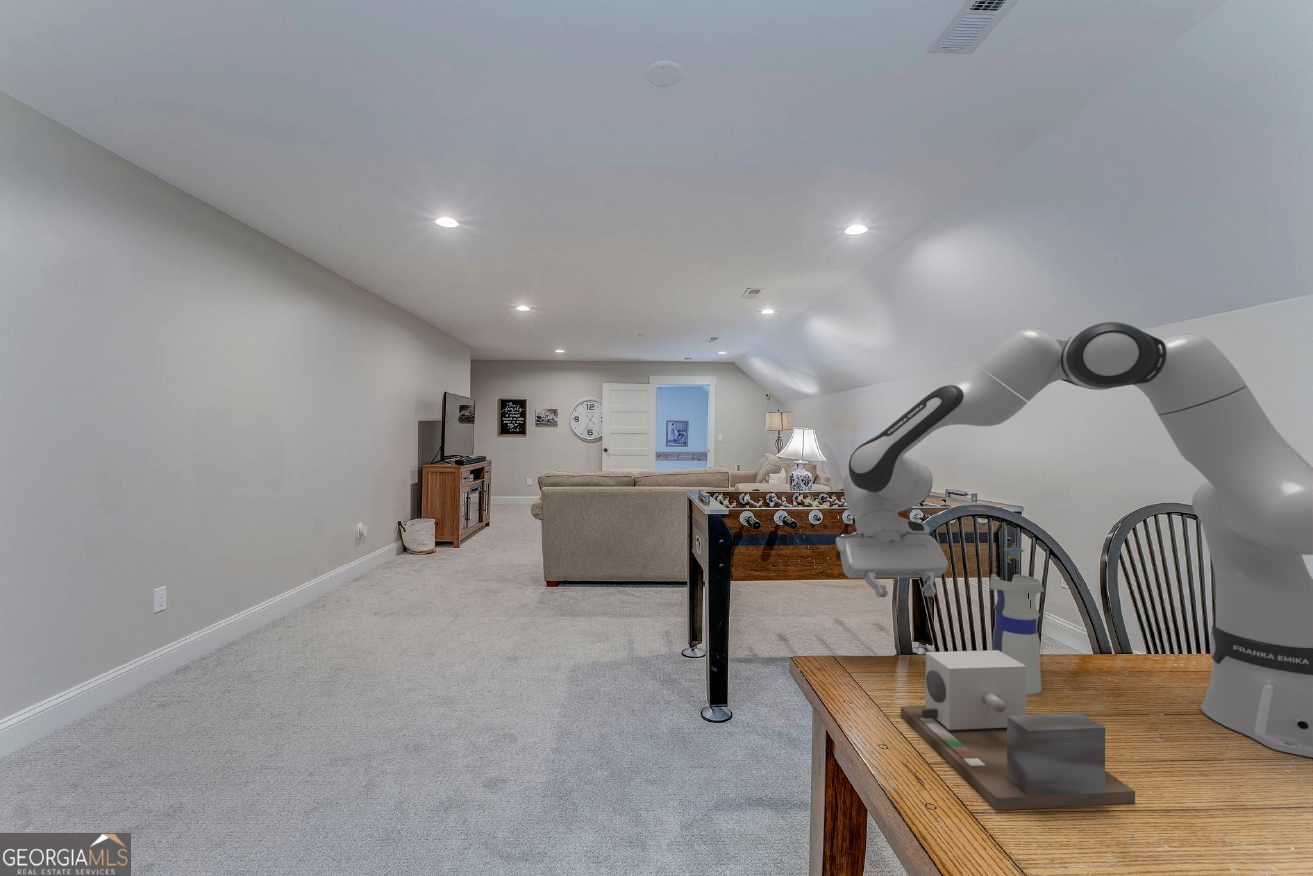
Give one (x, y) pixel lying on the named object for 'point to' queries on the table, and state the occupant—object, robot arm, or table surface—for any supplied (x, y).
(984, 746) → the gauge stand
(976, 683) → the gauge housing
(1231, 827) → the table surface
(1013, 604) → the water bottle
